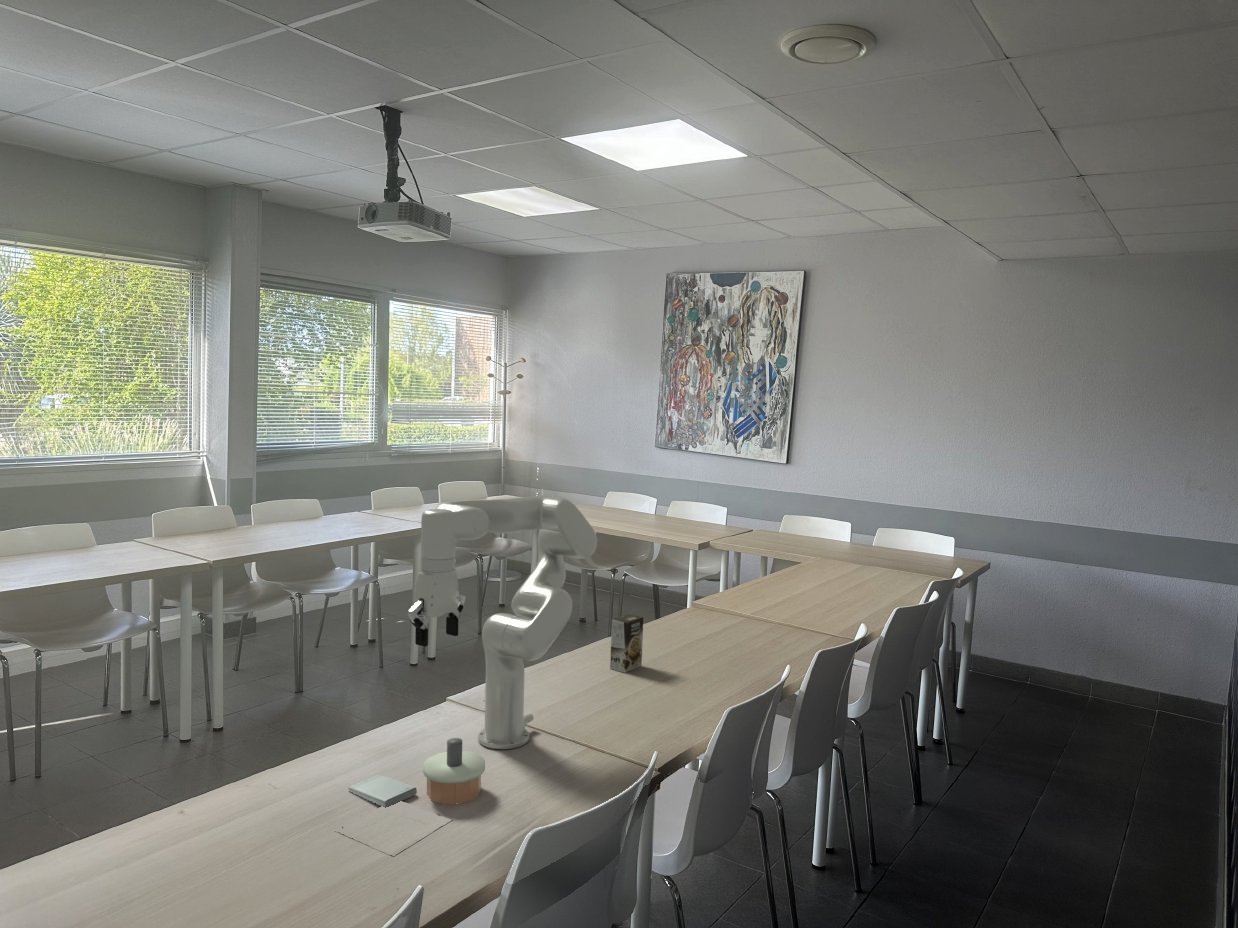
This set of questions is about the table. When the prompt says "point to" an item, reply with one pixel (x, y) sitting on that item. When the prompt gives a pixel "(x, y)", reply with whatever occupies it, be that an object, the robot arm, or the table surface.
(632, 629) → the coffee box
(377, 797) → the hard drive
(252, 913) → the table surface
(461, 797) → the bowl
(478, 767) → the lid
